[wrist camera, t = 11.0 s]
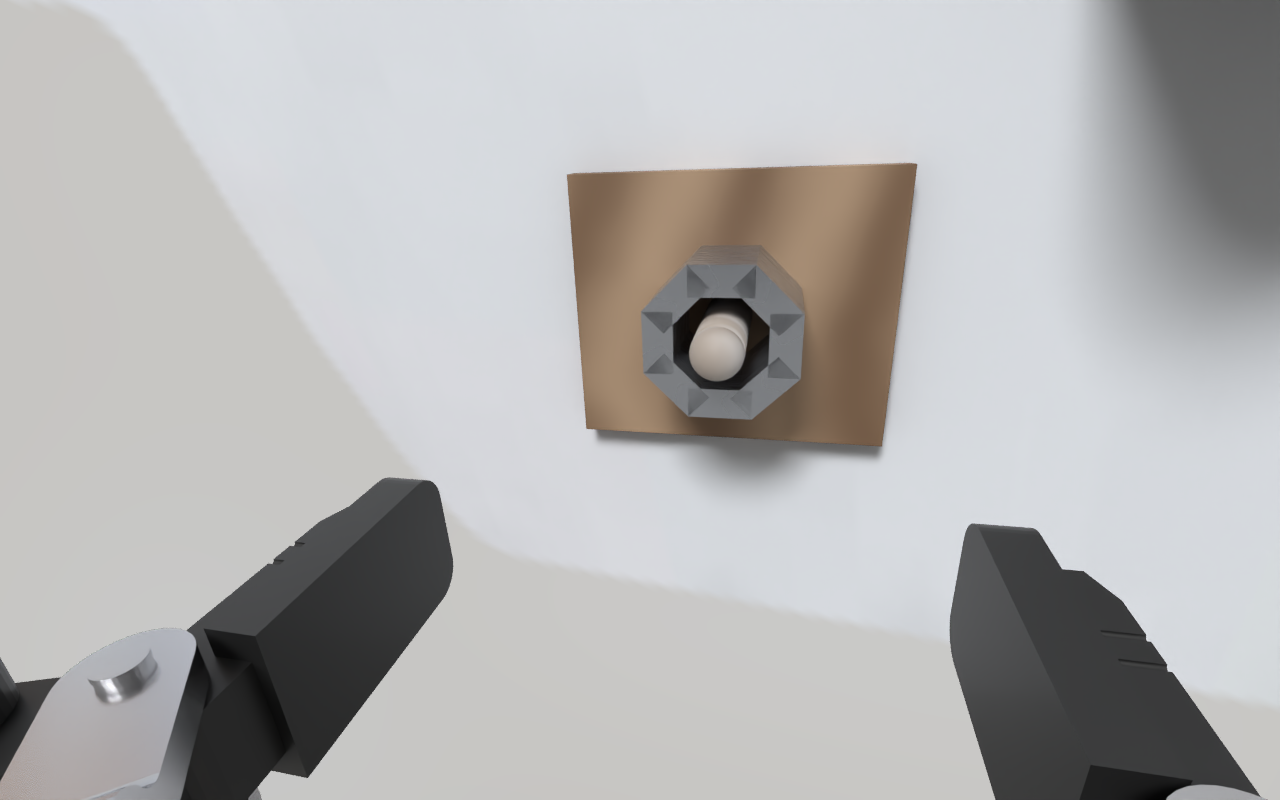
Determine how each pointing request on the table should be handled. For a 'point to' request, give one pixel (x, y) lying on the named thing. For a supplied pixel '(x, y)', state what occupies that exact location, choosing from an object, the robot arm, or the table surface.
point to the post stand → (728, 327)
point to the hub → (764, 365)
